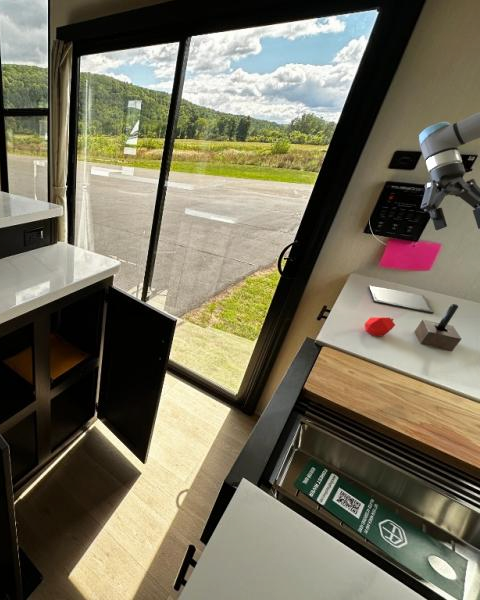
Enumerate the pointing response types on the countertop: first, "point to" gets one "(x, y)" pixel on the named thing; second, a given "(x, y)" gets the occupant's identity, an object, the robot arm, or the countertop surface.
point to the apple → (379, 326)
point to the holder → (437, 335)
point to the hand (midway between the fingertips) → (462, 227)
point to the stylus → (447, 317)
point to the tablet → (400, 299)
